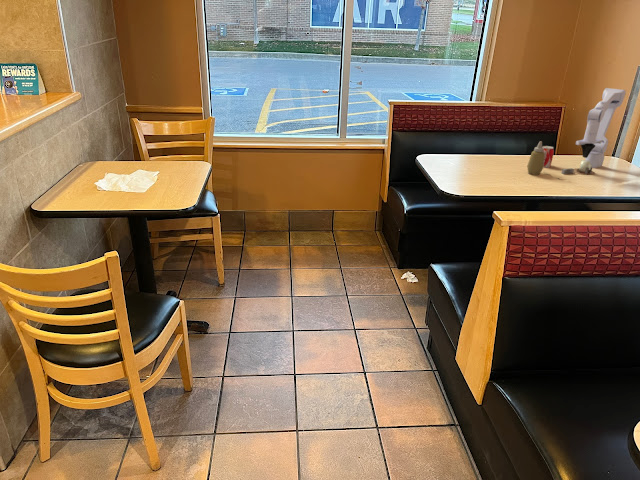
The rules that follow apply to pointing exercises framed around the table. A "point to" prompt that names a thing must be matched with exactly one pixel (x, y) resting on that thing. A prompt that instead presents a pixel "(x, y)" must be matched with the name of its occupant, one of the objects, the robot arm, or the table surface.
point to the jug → (584, 165)
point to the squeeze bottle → (536, 160)
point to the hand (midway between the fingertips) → (584, 157)
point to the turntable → (571, 170)
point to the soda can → (548, 155)
